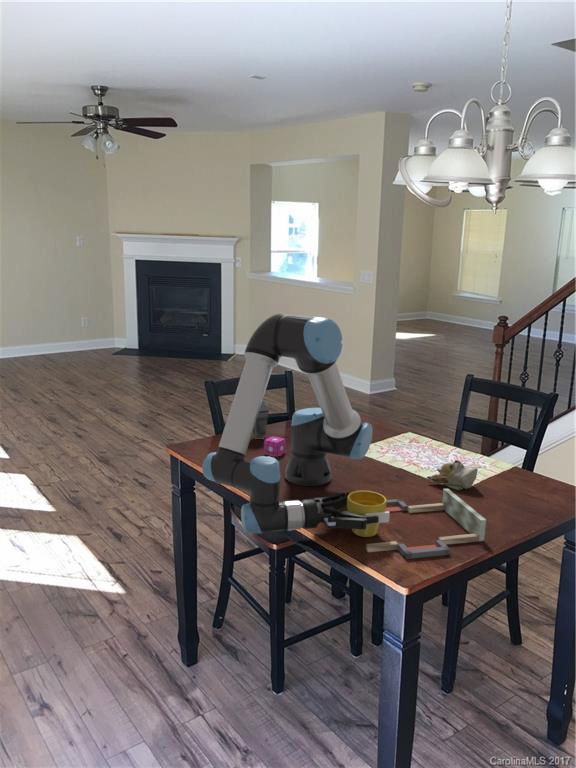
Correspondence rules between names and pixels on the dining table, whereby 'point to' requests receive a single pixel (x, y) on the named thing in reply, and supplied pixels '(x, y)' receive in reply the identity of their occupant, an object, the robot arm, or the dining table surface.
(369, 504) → the plant pot
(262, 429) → the beverage cup
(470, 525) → the box
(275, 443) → the puzzle toy
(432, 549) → the trap bays
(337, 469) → the dining table surface
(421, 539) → the dining table surface
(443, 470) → the ceramic sculpture
